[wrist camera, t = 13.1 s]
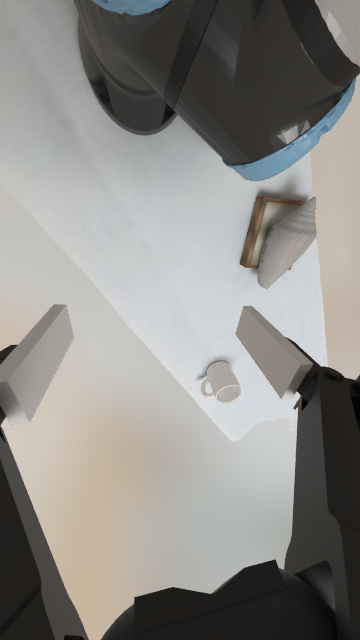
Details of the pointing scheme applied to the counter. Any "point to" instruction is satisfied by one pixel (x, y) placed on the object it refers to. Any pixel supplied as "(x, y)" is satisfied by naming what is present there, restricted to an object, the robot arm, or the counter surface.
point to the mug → (221, 383)
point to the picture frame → (264, 226)
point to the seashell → (287, 243)
